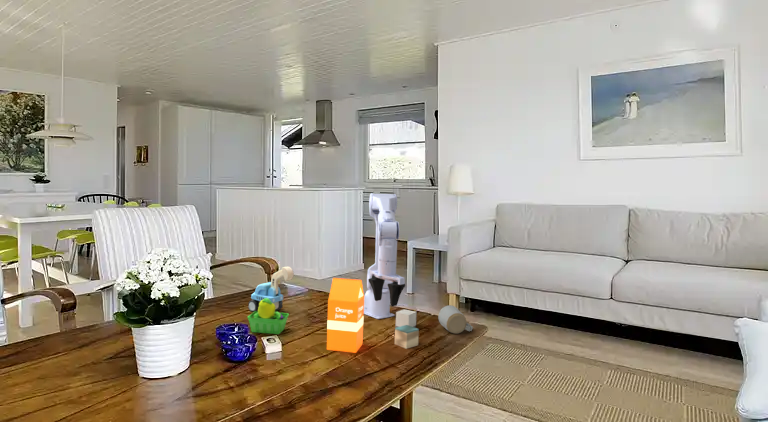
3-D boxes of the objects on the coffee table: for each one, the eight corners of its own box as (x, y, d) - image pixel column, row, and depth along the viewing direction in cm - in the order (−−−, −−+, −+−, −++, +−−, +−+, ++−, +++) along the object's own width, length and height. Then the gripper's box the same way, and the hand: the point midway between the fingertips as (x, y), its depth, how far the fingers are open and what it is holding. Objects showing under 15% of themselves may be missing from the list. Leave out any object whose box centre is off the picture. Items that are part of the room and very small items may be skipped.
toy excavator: (280, 318, 162) (281, 269, 161) (245, 310, 170) (246, 263, 169) (297, 313, 169) (298, 266, 168) (262, 305, 177) (263, 260, 176)
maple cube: (406, 332, 137) (406, 349, 137) (418, 329, 140) (418, 345, 140) (395, 327, 140) (394, 344, 141) (406, 324, 144) (406, 340, 144)
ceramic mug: (446, 335, 150) (447, 311, 150) (437, 327, 158) (438, 305, 158) (476, 334, 153) (478, 311, 152) (466, 326, 161) (467, 304, 160)
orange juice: (356, 352, 132) (358, 282, 131) (326, 349, 134) (328, 280, 133) (362, 343, 140) (365, 277, 139) (334, 340, 142) (336, 275, 140)
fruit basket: (289, 328, 152) (290, 293, 151) (280, 337, 143) (281, 300, 142) (255, 326, 153) (255, 291, 152) (244, 334, 144) (245, 298, 143)
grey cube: (395, 327, 157) (396, 312, 157) (403, 323, 161) (403, 309, 161) (408, 330, 155) (408, 315, 154) (415, 326, 159) (416, 311, 158)
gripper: (362, 257, 149) (361, 299, 150) (393, 264, 138) (391, 310, 139) (379, 255, 154) (378, 296, 155) (410, 262, 143) (408, 306, 144)
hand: (385, 303), depth 147 cm, fingers open, 7 cm apart
